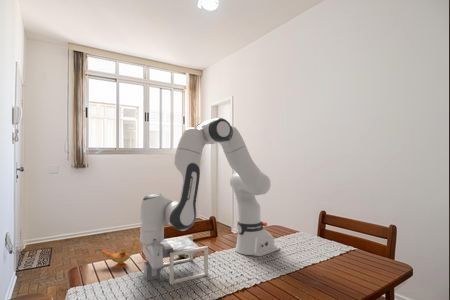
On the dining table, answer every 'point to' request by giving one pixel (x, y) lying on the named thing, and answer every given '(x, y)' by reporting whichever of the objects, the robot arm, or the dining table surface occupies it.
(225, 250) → the dining table surface
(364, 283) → the dining table surface
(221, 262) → the dining table surface
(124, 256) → the magic lamp
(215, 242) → the dining table surface
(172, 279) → the frame
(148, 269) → the stone
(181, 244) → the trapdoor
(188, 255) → the rock sample
